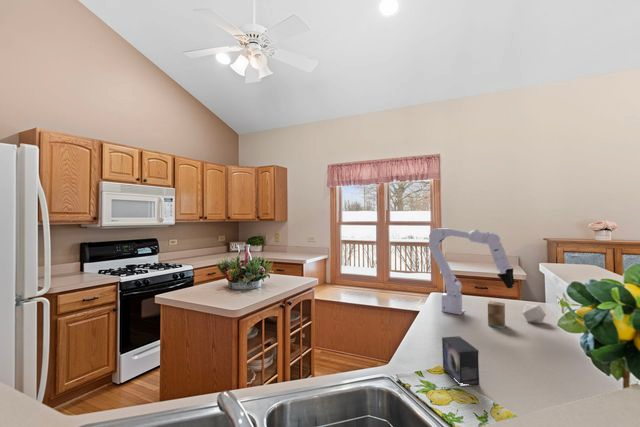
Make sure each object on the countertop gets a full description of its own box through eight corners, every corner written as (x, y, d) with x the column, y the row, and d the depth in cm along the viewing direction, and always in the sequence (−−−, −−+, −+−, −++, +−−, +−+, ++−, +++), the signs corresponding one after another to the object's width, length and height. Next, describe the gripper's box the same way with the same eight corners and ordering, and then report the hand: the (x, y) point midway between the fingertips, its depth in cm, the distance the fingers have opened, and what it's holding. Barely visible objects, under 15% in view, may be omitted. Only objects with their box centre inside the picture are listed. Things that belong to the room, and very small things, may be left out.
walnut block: (488, 325, 132) (487, 303, 132) (489, 322, 136) (489, 300, 136) (503, 328, 128) (503, 305, 129) (505, 325, 132) (504, 303, 132)
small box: (441, 368, 96) (440, 336, 96) (460, 367, 97) (459, 335, 97) (459, 387, 85) (458, 351, 86) (480, 385, 86) (479, 350, 86)
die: (543, 321, 138) (528, 302, 143) (554, 318, 130) (538, 298, 135) (528, 328, 137) (514, 309, 142) (538, 325, 129) (523, 305, 134)
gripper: (507, 258, 132) (519, 288, 129) (511, 254, 143) (522, 281, 141) (490, 261, 136) (501, 290, 133) (495, 257, 147) (505, 284, 145)
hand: (511, 286), depth 137 cm, fingers open, 7 cm apart
